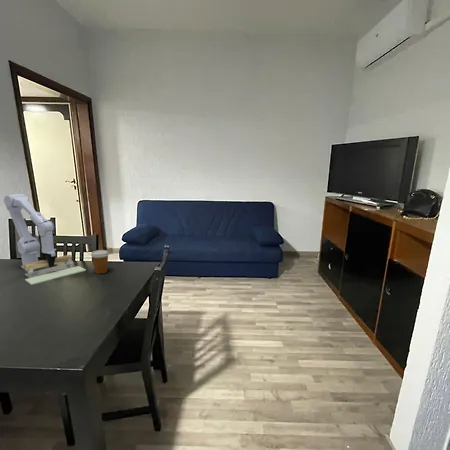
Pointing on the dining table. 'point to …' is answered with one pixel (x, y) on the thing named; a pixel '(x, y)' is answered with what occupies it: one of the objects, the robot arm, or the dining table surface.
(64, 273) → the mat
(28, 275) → the rack
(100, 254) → the disposable coffee cup
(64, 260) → the rail
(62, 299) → the dining table surface
